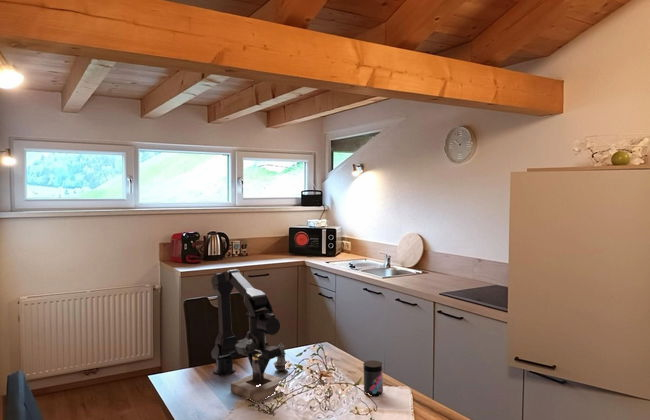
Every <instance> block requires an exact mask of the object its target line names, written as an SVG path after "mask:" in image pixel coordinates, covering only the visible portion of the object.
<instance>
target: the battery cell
mask: <svg viewBox="0 0 650 420" xmlns="http://www.w3.org/2000/svg"><path fill="white" fill-rule="evenodd" d="M260 355H261V353H259V354H254V355H252V367H251V371H252V374H253V382H255V383H260V382H263V381H264V373H265V372H264V373H263V374H261V371H260V360H259V359H258V358H257V356H260Z"/></svg>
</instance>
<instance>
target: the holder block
mask: <svg viewBox="0 0 650 420" xmlns="http://www.w3.org/2000/svg"><path fill="white" fill-rule="evenodd" d="M282 379H283V378H281V377H278V376H275V375H273V374H269V373H267V372H264V381H263V382H260V383H255V382H253V373H252V374H250V375H248V376H245V377H242V378H240V379H237V380H234V381H232V382H230V393H232V394H233V395H236V396H239V397H241V398H243V397H244V398H243V399H246V398H249V399H251V400H253V401H255V402H259V401H261V400H263V399H265V398H267V397H268V396H271V395H272V394H274V392H275V388H276V387H277V386H278V384H279V382H280V381H281V380H282ZM259 384H261V386H259V387H256V385H259ZM267 399H268V398H267ZM251 400H250V401H251ZM265 400H266V399H265ZM253 401H252V402H253ZM263 401H264V400H263ZM255 402H254V403H255ZM261 402H262V401H261ZM259 403H260V402H259Z"/></svg>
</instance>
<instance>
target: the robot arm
mask: <svg viewBox="0 0 650 420" xmlns="http://www.w3.org/2000/svg"><path fill="white" fill-rule="evenodd" d="M210 280H211V285H212V290H213V292H214V293H215V294H216V296H217V310H218V311H217V313H218V315H217V316H218V334H217V336H216V338H215V341H214V342H215V344H214V347H213V348H212V350H211V351H210V352H211V353H210V354H211V358H212V359H213V360H215V361H216V362H215V364H216V365H215V366H216V369H215V370H213V371H212V372H213V373H215V374H217V375H220V376H223V377H224V376H227V375H229V374H232V373H234V372H236V371H237V370H236V369H235V368H234V367H233V365H234V362H233V357H235V356H237V353H238V355H242V356H244V357H245V356H246V358H248V362H249V365H250V367H251V368H252V355H254V354H261V355H260V356H257V358H258V359H259V360H260V371H261V374H263V373H266V370H267V369H266V368H267V366H268V364H269V362H270V361H271V360H272V359H276V358H277V357H278V356H281V349H280V348H279V347H277V346H275V345H271V346H269V342H267V339H266V337H267V336H266V335H270V336H274V335H277V333H278V332H279V331H280V329H281V323H280V321H279V320H278V319H277V318H276V315H275V314H274V311H273V306H272V304H271V303H270V300H269V298H268V295H267V294H266V293H265V292H264V291H262V290H260V289H258V288H257V289H256V288H255V287H253V286H252V284H251V283H250V282H249V281H248V280H247V279H246V278H245V277H244V275H242V274H241V271H240V270H239V269H237V268H234V269H228V270H225V271H224V272H219V273H214V274H213V276H212V277H211V279H210ZM234 288H235V290H236V291H237V292H238V293H239V294H240V296H241V297H242V298H243V304H244V307H245V308H246V309H247V312H246V313H245V315H247V316H248V324H249V325H248V328H249V330H248V331H247V332H246V336H245V337H244V338H243V339H239V340H238V336H237V335H235V334H234V333H233V329H232V327H233V326H232V309H231V308H232V307H231V295H232V294H231V293H232V292H233V290H234ZM259 352H260V353H259Z"/></svg>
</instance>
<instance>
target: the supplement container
mask: <svg viewBox="0 0 650 420" xmlns="http://www.w3.org/2000/svg"><path fill="white" fill-rule="evenodd" d="M383 366H384V365H383V362H381V361H379V360H374V359H373V360H367V361H364V362H363V392H366V393H369V394H370V395H372V396H371V397H379V395H380V396H381V395H382V394H383V392H384V381H383V379H384V378H383V377H384V375H383V374H384V373H383V369H384V368H383Z"/></svg>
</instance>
